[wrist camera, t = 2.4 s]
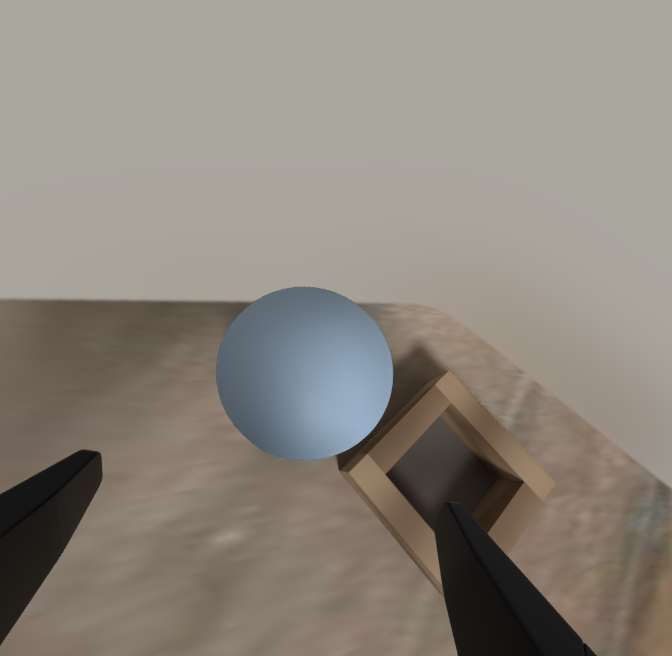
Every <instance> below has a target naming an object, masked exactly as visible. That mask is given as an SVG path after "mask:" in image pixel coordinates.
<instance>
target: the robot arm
mask: <svg viewBox="0 0 672 656" xmlns="http://www.w3.org/2000/svg"><path fill="white" fill-rule="evenodd" d="M102 476H103V473H102V458H101V454H100V452H98V451H92V450H80V451H77V452H76V453H74V454H72V455H70V456H68V457H67V458H65V459H63V460H61V461H59V462H57V463H56V464H54V465H52V466H50V467H48V468H47V469H45V470H43V471H41V472H39V473H38V474H36V475H34V476H32V477H30V478H29V479H27V480H25V481H23V482H21V483H20V484H18V485H16V486H14V487H12V488H11V489H9V490H7V491H5V492H3V493H2V494H0V645H1V644H2V642H3V641H4V639H5V638H6V636H7V635H8V633H9V632H10V630H11V629H12V627H13V626H14V624H15V623H16V621H17V620H18V619H19V617H20V616H21V614H22V613H23V611H24V610H25V608H26V607H27V605H28V604H29V602H30V601H31V599H32V598H33V596H34V595H35V593H36V592H37V590H38V589H39V587H40V586H41V584H42V583H43V581H44V580H45V578H46V577H47V575H48V574H49V572H50V571H51V569H52V568H53V566H54V565H55V564H56V562H57V560H58V559H59V557H60V556H61V554H62V553H63V551H64V549H65V548H66V546H67V544H68V542H69V541H70V539H71V537H72V535H73V533H74V532H75V530H76V528H77V526H78V524H79V522H80V521H81V519H82V517H83V515H84V513H85V512H86V510H87V508H88V506H89V504H90V502H91V501H92V499H93V497H94V495H95V493H96V491H97V490H98V488H99V486H100V484H101V481H102ZM434 533H435V540H436V547H437V554H438V561H439V568H440V575H441V582H442V588H443V593H444V598H445V603H446V607H447V611H448V615H449V620H450V624H451V628H452V632H453V637H454V641H455V645H456V649H457V653H458V656H597V655H596V654H595V653H594V652H593V651H592V650H591V649H590V648H589V646H588V645H587V644H586V643H583V640H582V639H581V638H580V637H579V635H578V634H577V633H576V632H575V631H574V630H573V629H572V628H571V626H570V625H569V624H568V623H567V622H566V621H565V620H564V619H563V617H562V616H561V615H560V614H559V613H558V612H557V611H556V610H555V609H554V607H553V606H552V605H551V604H550V603H549V602H548V601H547V600H546V598H545V597H544V596H543V595H542V594H541V593H540V592H539V591H538V590H537V588H536V587H535V586H534V585H533V584H532V583H531V582H530V581H529V579H528V578H527V577H526V576H525V575H524V574H523V573H522V572H521V571H520V569H519V568H518V567H517V566H516V565H515V564H514V563H513V562H512V560H511V559H510V558H509V557H508V556H507V555H506V554H505V553H504V551H503V550H502V549H501V548H500V547H499V546H498V545H497V544H496V543H495V541H494V540H493V539H492V538H491V537H490V536H489V535H488V534H487V532H486V531H485V530H484V529H483V528H482V527H481V526H480V525H479V524H478V522H477V521H476V520H475V519H474V518H473V517H472V516H471V515H470V513H469V512H468V511H467V510H466V509H465V508H464V507H463V506H462V505H461V504H460V503H457V502H450V501H446V502H444V503H443V505H442V507H441V509H440V511H439V513H438V515H437V517H436V519H435V522H434Z"/></svg>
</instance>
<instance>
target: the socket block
mask: <svg viewBox="0 0 672 656" xmlns="http://www.w3.org/2000/svg"><path fill="white" fill-rule="evenodd" d="M340 472H341V474H342V475H343V476H344V477H345V478H346V480H347V481H348V482H349V483H350V484H351V486H352V487H353V488H354V489H355V491H356V492H357V493H358V494H359V495H360V497H361V498H362V499H363V500H364V501H365V503H366V504H367V505H368V506H369V508H370V509H371V510H372V511H373V512H374V514H375V515H376V516H377V517H378V518H379V520H380V521H381V522H382V523H383V525H384V526H385V527H386V528H387V529H388V531H389V532H390V533H391V534H392V536H393V537H394V538H395V539H396V540H397V542H398V543H399V544H400V545H401V546H402V548H403V549H404V550H405V551H406V553H407V554H408V555H409V556H410V557H411V559H412V560H413V561H414V562H415V563H416V565H417V566H418V567H419V568H420V570H421V571H422V572H423V573H424V574H425V576H426V577H427V578H428V579H429V580H430V582H431V583H432V584H433V585H434V587H435V588H436V589H437V590H438V591H439V593H440V594H441V595H442V596H443V597H444V593H443V588H442V582H441V575H440V568H439V561H438V554H437V547H436V540H435V533H434V522H435V519H436V517H437V515H438V513H439V511H440V509H441V507H442V505H443V503H444V502H446V501H450V502H457V503H460V504H461V505H462V506H463V507H464V508H465V509H466V510H467V511H468V512H469V513H470V515H471V516H472V517H473V518H474V519H475V520H476V521H477V522H478V524H479V525H480V526H481V527H482V528H483V529H484V530H485V531H486V532H487V534H488V535H489V536H490V537H491V538H492V539H493V540H494V541H495V543H496V544H497V545H498V546H499V547H500V548H501V549H502V550H503V551H504V553H505V554H506V555H508V554H509V552H510V551H511V549H512V548H513V546H514V545H515V543H516V542H517V540H518V539H519V537H520V536H521V534H522V533H523V531H524V530H525V528H526V527H527V525H528V524H529V522H530V521H531V519H532V518H533V516H534V515H535V513H536V512H537V510H538V509H539V507H540V506H541V504H542V503H543V501H544V500H545V498H546V497H547V495H548V494H549V492H550V491H551V489H552V488H553V486H554V485H555V482H554V481H553V480H552V479H551V478H550V477H549V476H548V475H547V474H546V473H545V471H544V470H543V469H542V468H541V467H540V466H539V465H538V464H537V463H536V462H535V461H534V460H533V459H532V458H531V457H530V456H529V454H528V453H527V452H526V451H525V450H524V449H523V448H522V447H521V446H520V445H519V444H518V443H517V442H516V441H515V440H514V439H513V437H512V436H511V435H510V434H509V433H508V432H507V431H506V430H505V429H504V428H503V427H502V426H501V425H500V424H499V423H498V422H497V420H496V419H495V418H494V417H493V416H492V415H491V414H490V413H489V412H488V411H487V410H486V409H485V408H484V407H483V406H482V405H481V403H480V402H479V401H478V400H477V399H476V398H475V397H474V396H473V395H472V394H471V393H470V392H469V391H468V390H467V389H466V388H465V386H464V385H463V384H462V383H461V382H460V381H459V380H458V379H457V378H456V377H455V376H454V375H453V374H452V373H451V372H450V371H447V372H444V373H442V374H440V375H438V376H436V377H434V378H432V379H430V380H429V381H428V382H427V383H426V384H425V385H424V386H423V387H422V388H421V389H420V390H419V391H418V392H417V393H416V394H415V395H414V396H413V397H412V398H411V399H410V400H409V401H408V402H407V403H406V404H405V405H404V406H403V407H402V408H401V409H400V410H399V411H398V412H397V413H396V414H395V415H394V416H393V417H392V418H391V419H390V420H389V421H388V422H387V423H386V424H385V425H384V426H383V427H382V428H381V429H380V430H379V431H378V432H377V433H376V434H375V435H374V436H373V437H372V438H371V439H370V440H369V441H368V442H367V443H366V444H365V445H364V447H363V448H362V449H361V450H360V451H359V452H358V453H357V454H356V455H355V456H354V457H353V458H352V459H351V460H350V461H349V462H348V463H347V464H346V465H345V466H344V467H343V468H342V469H341V470H340Z"/></svg>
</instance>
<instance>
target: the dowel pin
mask: <svg viewBox="0 0 672 656" xmlns="http://www.w3.org/2000/svg"><path fill="white" fill-rule="evenodd" d="M216 381H217V387H218V392H219V396H220V399H221V402H222V405H223V407H224V409H225V411H226V413H227V415H228V417H229V418H230V420H231V421H232V423H233V424H234V426H235V427H236V428H237V429H238V430H239V431H240V432H241V433H242V434H243V435H244V436H245V437H246V438H247V439H248V440H250V441H251V442H252V443H253V444H255V445H256V446H257V447H258V448H260V449H261V450H262V451H264V452H265V453H267V454H268V455H271V456H273V457H276V458H283V459H294V460H316V459H322V458H327V457H331V456H334V455H337V454H340V453H342V452H344V451H346V450H348V449H350V448H351V447H353V446H355V445H356V444H358V443H359V442H360V441H361V440H363V439H364V438H365V437H366V436H367V435H368V434H369V433H370V432H371V431H372V430H373V429H374V427H375V426H376V425H377V423H378V422H379V420H380V419H381V417H382V416H383V414H384V411H385V409H386V407H387V405H388V402H389V399H390V396H391V390H392V385H393V365H392V359H391V354H390V350H389V347H388V344H387V342H386V340H385V337H384V335H383V333H382V332H381V330H380V328H379V327H378V325H377V324H376V323H375V321H374V320H373V319H372V318H371V316H370V315H369V314H368V313H367V312H365V311H364V310H363V309H362V308H361V307H360V306H358V305H357V304H356V303H354V302H353V301H351V300H349V299H348V298H346V297H344V296H342V295H340V294H337V293H335V292H332V291H329V290H325V289H320V288H314V287H293V288H287V289H282V290H279V291H275V292H272V293H270V294H268V295H265V296H263V297H261V298H260V299H258V300H256V301H254V302H253V303H252V304H250V305H249V306H248V307H247V308H245V309H244V310H243V311H242V312H241V313H240V314H239V315H238V316H237V317H236V319H235V320H234V321H233V323H232V324H231V325H230V327H229V329H228V330H227V332H226V334H225V336H224V338H223V341H222V343H221V345H220V349H219V353H218V357H217V366H216Z"/></svg>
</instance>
